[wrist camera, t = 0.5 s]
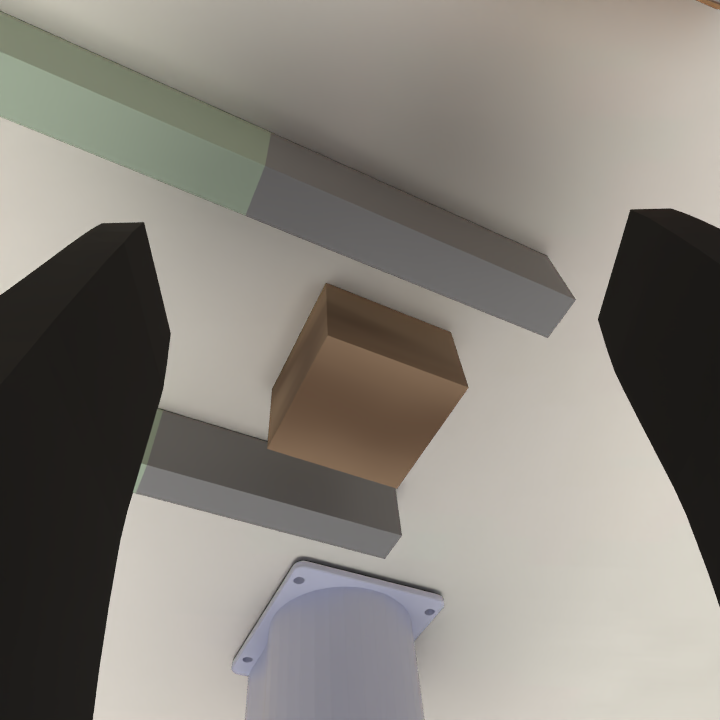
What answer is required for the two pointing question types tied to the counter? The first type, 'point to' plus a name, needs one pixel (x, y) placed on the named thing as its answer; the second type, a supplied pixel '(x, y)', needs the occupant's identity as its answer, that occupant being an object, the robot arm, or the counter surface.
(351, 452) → the walnut block
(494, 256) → the green and grey bars
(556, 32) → the counter surface
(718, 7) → the small box
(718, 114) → the counter surface
